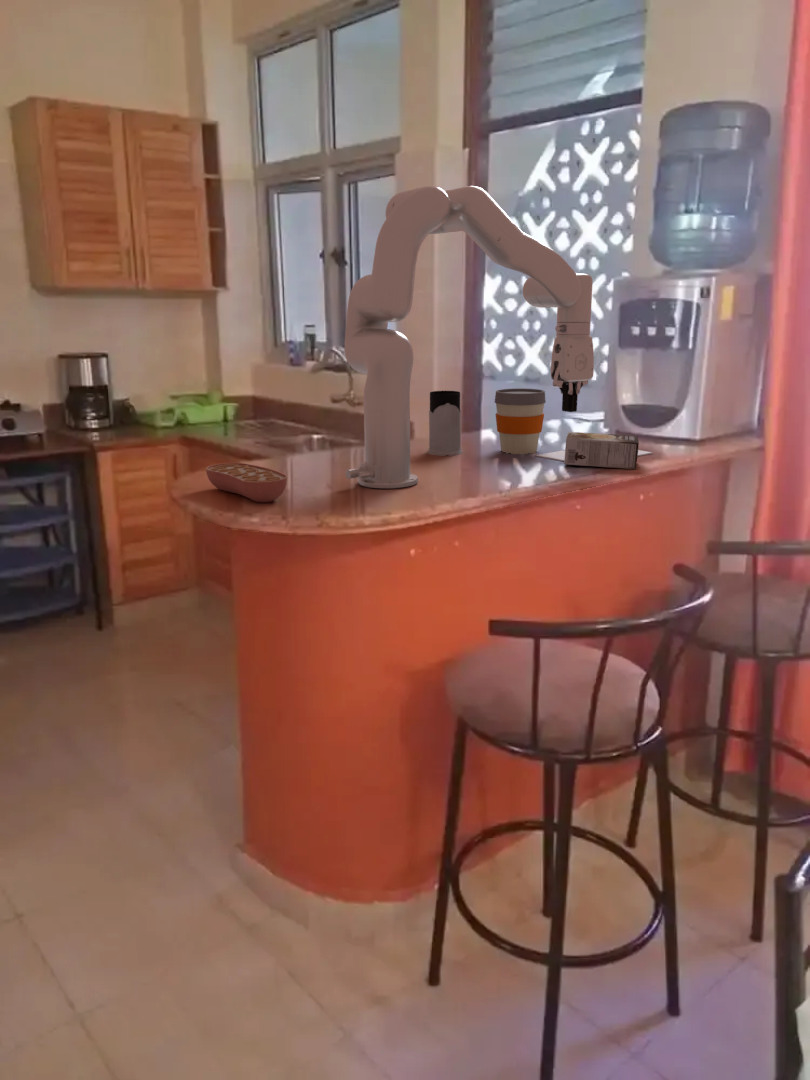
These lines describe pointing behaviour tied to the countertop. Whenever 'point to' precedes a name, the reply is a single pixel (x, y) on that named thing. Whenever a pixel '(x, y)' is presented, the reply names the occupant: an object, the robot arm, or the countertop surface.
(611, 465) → the coffee box
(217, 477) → the brown oblong piece
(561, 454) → the mat
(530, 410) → the reusable coffee cup
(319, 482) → the countertop surface
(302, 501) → the countertop surface
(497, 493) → the countertop surface
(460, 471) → the countertop surface
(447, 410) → the glass holder
